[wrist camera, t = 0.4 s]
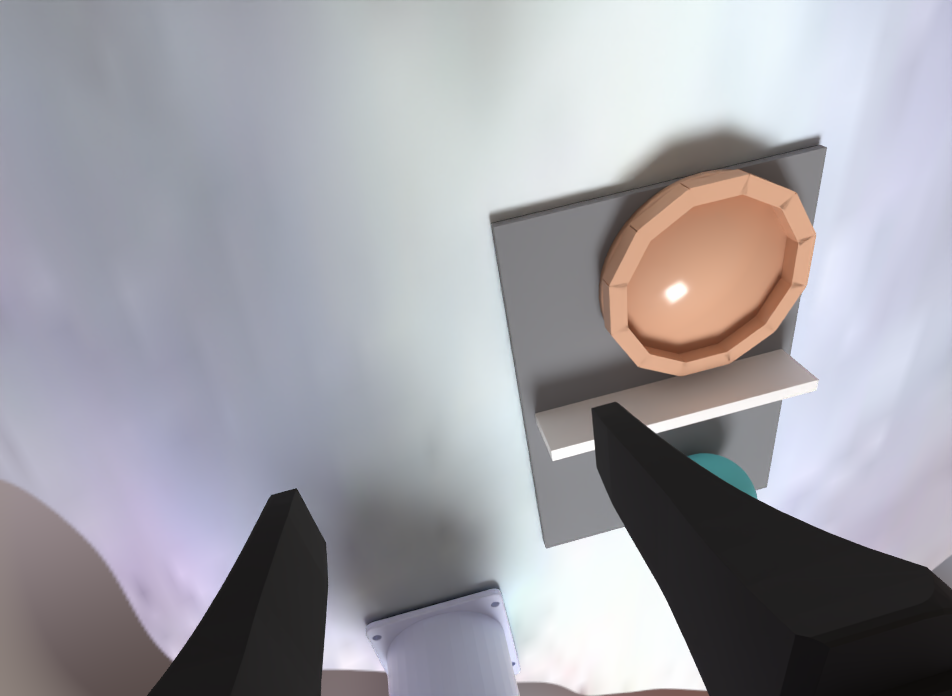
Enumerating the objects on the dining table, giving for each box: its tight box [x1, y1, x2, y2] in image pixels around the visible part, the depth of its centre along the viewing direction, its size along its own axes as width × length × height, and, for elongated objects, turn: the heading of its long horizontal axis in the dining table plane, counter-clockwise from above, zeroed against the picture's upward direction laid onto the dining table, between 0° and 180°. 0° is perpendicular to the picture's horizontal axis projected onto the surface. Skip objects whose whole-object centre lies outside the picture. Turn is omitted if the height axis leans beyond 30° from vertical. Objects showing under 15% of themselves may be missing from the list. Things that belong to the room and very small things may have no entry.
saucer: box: [599, 169, 816, 376], centre depth 23 cm, size 8×8×1 cm
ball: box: [687, 453, 757, 499], centre depth 28 cm, size 4×4×4 cm
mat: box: [491, 145, 827, 548], centre depth 26 cm, size 19×13×1 cm
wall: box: [535, 349, 819, 461], centre depth 25 cm, size 1×12×2 cm, turn 99°
